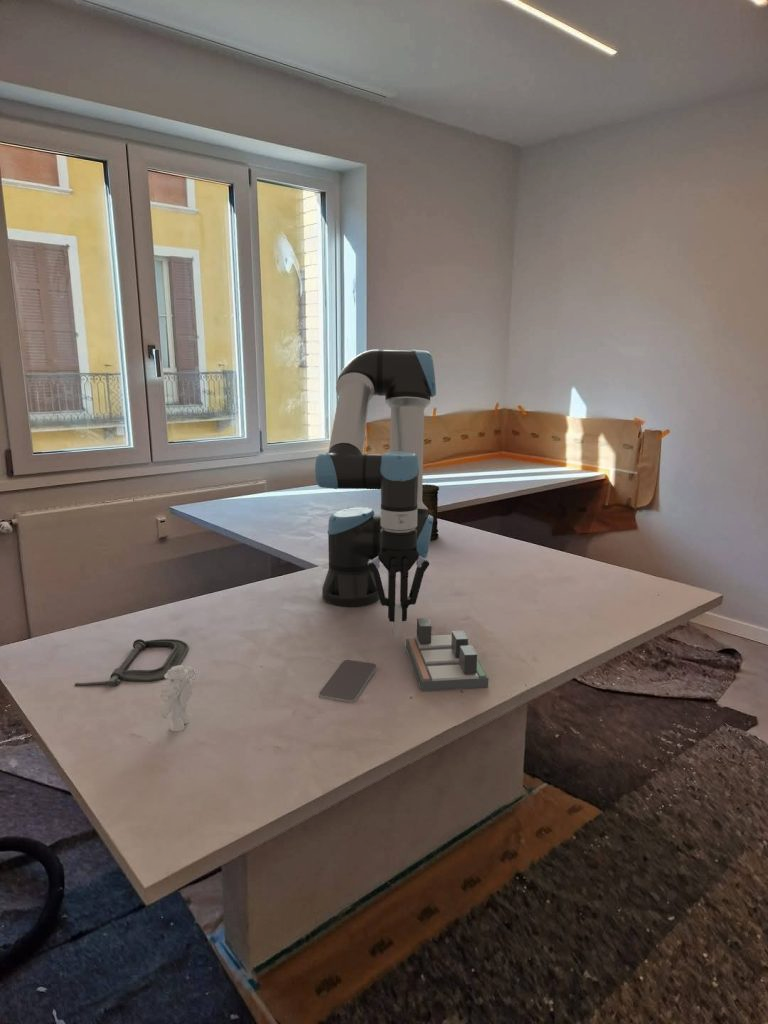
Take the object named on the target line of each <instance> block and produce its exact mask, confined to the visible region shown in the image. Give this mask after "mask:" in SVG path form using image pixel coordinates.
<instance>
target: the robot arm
mask: <svg viewBox="0 0 768 1024" xmlns="http://www.w3.org/2000/svg"><path fill="white" fill-rule="evenodd" d="M335 389H336V391H335V392H336V394H337V397H338V398H337V402H336V408H335V413H334V419H333V424H332V425H333V426H332V431H331V434H330V442H329V447H328V452H325V453H319V454H318V455H317V456H316V459H315V465H314V473H315V476H314V477H315V482H316V484H317V485H316V486H318V487H320V488H325V489H334V490H335V489H336V490H339V489H340V490H342V489H343V490H380V514H375V511H374V509H373V508H372V507H366V506H357V507H356V506H355V507H350V508H349V507H348V508H345V509H340V510H337V511H335V512H334V513H331V515H330V516H329V519H328V527H327V529H328V530H327V537H328V539H327V540H328V570H327V573H326V576H325V579H324V582H323V585H322V591H321V593H322V595H321V597H322V599H323V601H325V602H326V603H328V604H331V605H334V606H338V607H352V608H353V607H362V606H368V605H370V604H373V603H376V602H377V601H378V600H379V601H380V605H381V606H383V607H384V606H385V607H387V608H388V609H387V613H388V614H387V618H388V621H389V622H390V623H392V634H393V637H394V638H395V639H396V638H397V639H398V638H402V635H403V634H402V633H403V632H402V629H403V622H407V620H408V609H409V606H410V605H416V603H417V601H418V597H419V592H420V589H421V585H422V581H423V579H424V578H423V577H424V575H425V572H426V570H427V569H428V567H429V566H430V562H429V560H428V559H427V557H428V554H429V548H430V544H431V543H430V542H431V540H430V537H431V531H432V523H433V517H432V516H431V515H428V508H427V507H426V506H425V505H424V504H423V502H422V485H423V482H424V481H423V480H424V479H423V478H424V477H423V475H424V434H425V433H424V432H425V431H424V429H425V428H424V426H425V425H424V424H425V409H426V408H427V407H428V406H429V405H430V404H431V398H433V397H435V396H436V395H437V388H436V375H435V366H434V360H433V355H432V354H431V352H429V351H427V350H422V349H421V350H418V349H370V350H365V351H363V352H361V353H359V354H358V355H356V356H354V357H352V359H350V360H349V362H347V363H346V364H345V366H344V367H343V368H342V369H341V371H340V372H339V374H338V377H337V381H336V386H335ZM374 396H379V397H381V396H383V397H384V396H385V404H386V405H387V406H388V407H389V408H390V428H389V429H390V434H389V436H390V437H389V438H390V441H389V451H388V452H383V454H367V453H366V454H365V453H363V451H364V443H365V436H366V427H367V422H368V421H367V419H368V411H369V404H370V401H371V400H372V399H373V397H374ZM380 562H381V563H382V565H383V566H384V568H385V569H386V571H387V574H388V575H387V576H388V582H387V583H388V584H387V586H388V587H387V597H386V595H385V589H384V586H383V583H382V578H381V575H380V574H381V573H380V571H379V569H380V567H381V566H380ZM415 563H416V566H417V567H416V568H415V573H414V577H413V581H412V585H411V587H410V592H409V589H408V588H409V586H408V585H409V571H410V570H411V569H412V568H413V566H414V564H415ZM397 573H400V583H399V584H400V585H399V586H400V587H399V588H400V591H399V592H400V593H399V597H400V598H399V602H400V603H396V584H397V583H396V578H397ZM408 592H409V594H408Z"/></svg>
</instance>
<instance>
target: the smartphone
mask: <svg viewBox="0 0 768 1024" xmlns="http://www.w3.org/2000/svg"><path fill="white" fill-rule="evenodd" d="M377 666H378V665H377V664H376V663H373V662H367V661H362V660H361V661H360V660H356V659H355V660H353V659H343V660H342V662H340V664H339V665H338V667H337V668H336V669H335V671H334V672H333V673H332V674H331V676H330V678H329V679H328V680H327V681H326V683H324V685H323V686H322V688H321V689H320V690H319V691H318V697H319V698H322V699H327V700H336V701H338V702H344V703H355V702H356V701H357V699H358V698H359V697H360V695H361V693H362V692H363V691H364V689H365V688H366V686H367V684H368V683H369V681H370V680H371V678H372V677H373V676H374V673H375V672H376V671H377Z"/></svg>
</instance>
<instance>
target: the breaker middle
mask: <svg viewBox="0 0 768 1024" xmlns="http://www.w3.org/2000/svg"><path fill="white" fill-rule="evenodd" d="M451 635H452V642H451V649H452V651H453V653H454V655H455V657H456V658H458V657H460V646H468V643H469V638H468V636H467V635H466V633H465V631H464V630H451Z"/></svg>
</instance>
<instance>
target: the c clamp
mask: <svg viewBox="0 0 768 1024" xmlns="http://www.w3.org/2000/svg"><path fill="white" fill-rule="evenodd" d="M132 648H133V650H131V652H130V653H129V654H128V656H127V657H126V658H125V659H124V661H123V662H122V663H121V665H119V667H117V668H115V669H114V670H113V672H112V673H111V674H110V679H108V680H107V681H106V680H105V681H103V680H102V681H90V682H75V683H74V687H92V686H105V685H107V686H108V687H110V688H113V687H115V685H120V684H121V680H124V681H128V682H129V681H130V682H137V683H138V682H143V683H150V682H151V683H153V682H159V681H164V680H166V678H165V677H164V675H165V674H166V673H167V671H168V670H170V669H171V668H172V667H174V666H178V665H182V662H183V660H184V659H185V657H186V655H187V653H188V652H189V650H190V647H189V645H188V643H187V642H185V641H182V640H180V639H173V638H172V639H169V638H168V639H167V638H162V639H151V640H143V639H140V638H139V639H136V640H134V641H133V643H132ZM146 648H147V649H148V648H167V649H171V652H170V654H169V655H168V657H166V660H165V662H164V663H163V665H162V666H161V667H157V668H155V669H129V670H128V668H129V667H130V665H131V664H132V662H133V661H135V658H136V657H137V656H138V655H139V653H140V652H142V651H145V650H146Z"/></svg>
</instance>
